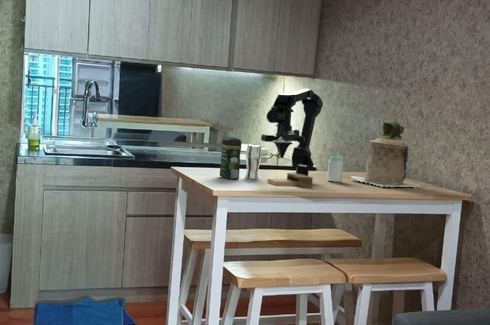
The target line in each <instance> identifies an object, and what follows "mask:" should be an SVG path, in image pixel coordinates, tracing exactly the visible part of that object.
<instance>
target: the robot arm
mask: <svg viewBox="0 0 490 325" xmlns="http://www.w3.org/2000/svg"><path fill="white" fill-rule="evenodd" d="M298 102H301V103H302V105H303V107H302V108H303V112H304V115H305V116H304V120H303V126H302V129H301V134H300V130H299V129H294V130H293V126H292V125H291V124H292V123H291V121H292V113H294V109H292V108H293V107H294V106H296V105H297V104H296V103H298ZM323 106H324V103H323V100H322V98H321V96H319V95H318V94H316V93H315V92H314V91H313V89H310V88H302V89H300V90H298V91H293V92H291V93H278V94H277V96H276V98H275V101H274V102H273V104H272V106H271V107H270V109H269V110H268V111H267V114H266V120H267V122H269V123H270V124H276V125H275V126H276V127H277V128H276V133H275V135H274V134H270V133H269V134H267V133H264V134H261V137H260V140H261V141H263V142H266V143H267V142H269V143H273V144H275V147H276V149H277V151H278V155H279V158H280V159H283V158H284V157H285V154H286V152H287V151H288V148H289V146H290V145H293V143H294V142H297V143H298V145H297V146H294V147H293V150H292V154H291V165H292V168H296V169H295V173H300V174H303V175H306V176H309V170H313V169H314V165H315V164H314V161H313V159H312V152H311V149H310V145H311V141H312V135H313V132H314V127H315V122H316V118H317V117H318V116H319V115H320V113H321V111H322V108H323Z"/></svg>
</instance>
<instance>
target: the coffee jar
mask: <svg viewBox="0 0 490 325" xmlns="http://www.w3.org/2000/svg"><path fill="white" fill-rule="evenodd" d="M221 140H222V141H221V155H220V156H221V157H220V166H219V177H220V178H223V179H225V180H226V179H228V180H239V179H240V167H241V166H240V164H241V150H242V140H241V139H240V138H237V137H235V136H234V137H233V136H225V137H223V138H222V139H221Z"/></svg>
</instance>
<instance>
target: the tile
mask: <svg viewBox="0 0 490 325" xmlns="http://www.w3.org/2000/svg"><path fill="white" fill-rule="evenodd" d="M267 184H270V185H272V186H283V187H284V186H287V187H298V184H299V180H289V179H287V178H286V179H285V178H283V179H281V178H268V179H267Z"/></svg>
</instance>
